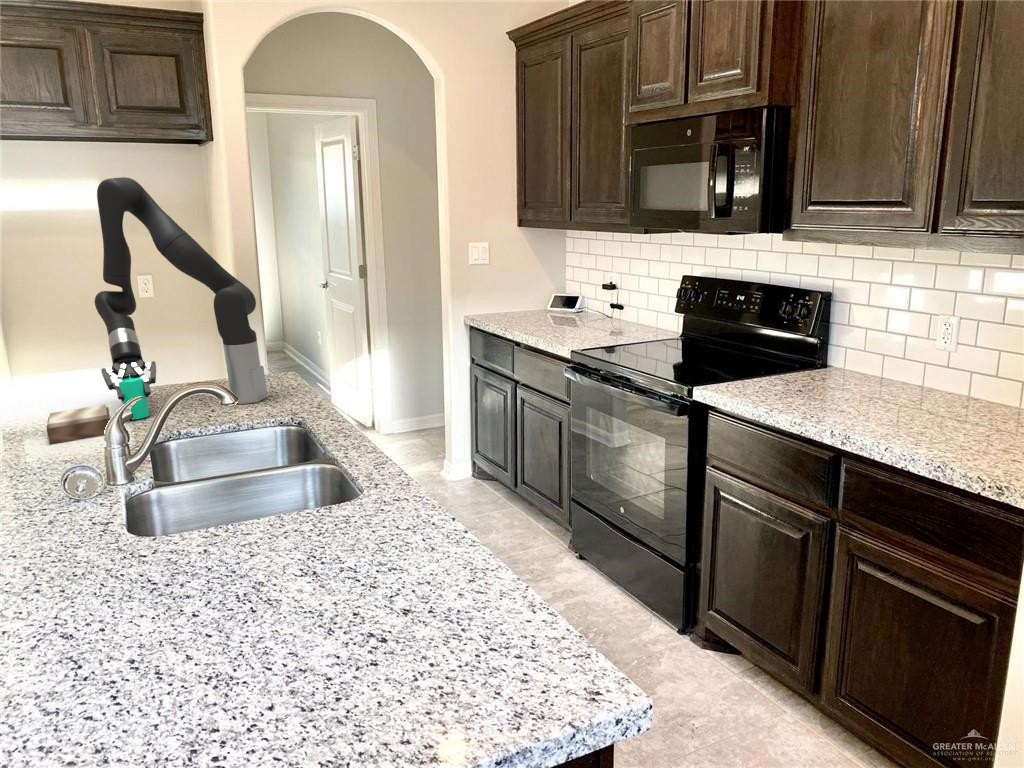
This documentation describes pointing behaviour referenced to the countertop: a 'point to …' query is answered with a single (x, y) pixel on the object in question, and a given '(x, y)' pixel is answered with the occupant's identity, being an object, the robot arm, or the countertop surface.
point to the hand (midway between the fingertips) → (135, 397)
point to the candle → (134, 389)
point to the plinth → (77, 424)
